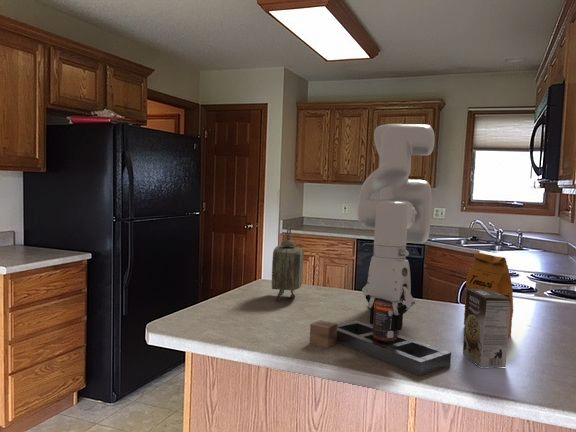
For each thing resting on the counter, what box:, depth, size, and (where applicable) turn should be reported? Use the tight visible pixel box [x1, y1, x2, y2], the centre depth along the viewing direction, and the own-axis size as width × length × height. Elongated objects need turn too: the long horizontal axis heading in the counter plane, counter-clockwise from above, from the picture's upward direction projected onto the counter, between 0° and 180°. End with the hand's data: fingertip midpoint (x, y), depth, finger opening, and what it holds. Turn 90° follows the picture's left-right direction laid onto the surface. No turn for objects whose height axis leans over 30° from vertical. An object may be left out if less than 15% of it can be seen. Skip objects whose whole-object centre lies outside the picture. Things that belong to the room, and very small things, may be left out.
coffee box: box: [462, 288, 511, 368], centre depth 109 cm, size 9×6×16 cm
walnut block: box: [309, 319, 339, 349], centre depth 118 cm, size 5×5×5 cm
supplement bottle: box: [372, 299, 399, 342], centre depth 113 cm, size 6×6×11 cm
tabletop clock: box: [271, 225, 305, 302], centre depth 163 cm, size 14×9×25 cm, turn 172°
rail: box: [337, 320, 452, 377], centre depth 114 cm, size 29×11×3 cm, turn 38°
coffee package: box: [463, 251, 514, 338], centre depth 133 cm, size 10×12×22 cm
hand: (385, 326), depth 114 cm, fingers closed on supplement bottle, 6 cm apart
